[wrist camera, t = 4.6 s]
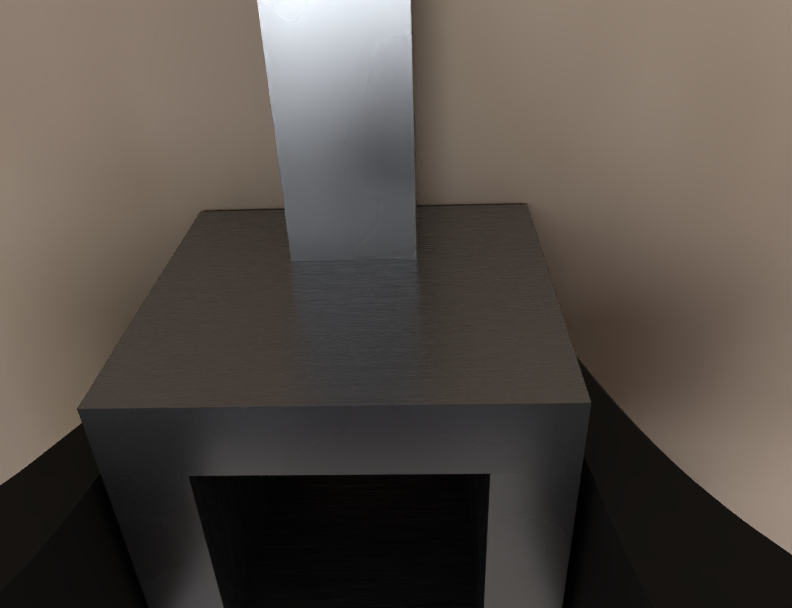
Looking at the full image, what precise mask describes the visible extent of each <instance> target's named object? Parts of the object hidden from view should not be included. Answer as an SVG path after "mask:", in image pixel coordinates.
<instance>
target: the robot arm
mask: <svg viewBox="0 0 792 608" xmlns="http://www.w3.org/2000/svg"><path fill="white" fill-rule="evenodd" d="M576 357H577V356H576ZM577 360H578V363H579V366H580V369H581V373H582V376H583V379H584V382H585V385H586V388H587V391H588V394H589V397H590V400H591V409H590V416H589V423H588V430H587V437H586V444H585V451H584V458H583V465H582V472H581V479H580V486H579V493H578V500H577V507H576V514H575V520H574V527H573V534H572V541H571V548H570V555H569V562H568V569H567V576H566V583H565V590H564V597H563V604H562V608H792V555H791V554H790V553H788V552H787V551H786V550H784V549H783V548H781V547H780V546H778V545H777V544H775V543H774V542H773V541H771V540H770V539H768V538H767V537H765V536H764V535H763V534H761V533H760V532H758V531H757V530H755V529H754V528H753V527H751V526H750V525H749V524H747V523H746V522H745V521H743V520H742V519H741V518H739V517H738V516H737V515H735V514H734V513H733V512H731V511H730V510H729V509H728V508H726V507H725V506H724V505H723V504H721V503H720V502H719V501H718V500H716V499H715V498H714V497H713V496H712V495H710V494H709V493H708V492H707V491H705V490H704V489H703V488H702V487H700V486H699V485H698V484H697V483H696V482H694V481H693V480H692V479H691V478H690V477H689V476H688V475H687V474H685V473H684V472H683V471H682V470H681V469H680V468H679V467H678V466H677V465H676V464H675V463H674V462H673V461H671V460H670V459H669V458H668V457H667V456H666V455H665V454H664V453H663V452H662V451H661V450H660V449H659V448H658V447H657V446H656V445H655V444H654V443H653V442H652V441H651V440H650V439H649V438H648V437H647V436H646V435H645V434H644V433H643V432H642V431H641V430H640V429H639V428H638V427H637V425H636V424H635V423H634V422H633V421H632V420H631V419H630V418H629V417H628V416H627V415H626V414H625V413H624V411H623V410H622V409H621V408H620V407H619V406H618V405H617V404H616V403H615V402H614V400H613V399H612V398H611V397H610V396H609V395H608V393H607V392H606V391H605V390H604V389H603V388H602V386H601V385H600V384H599V383H598V382H597V381H596V379H595V378H594V377H593V376H592V375H591V373H590V372H589V371H588V370H587V368H586V367H585V366H584V365H583V363H582V362H581V361H580V360H579V358H578V357H577ZM0 608H148V605H147V602H146V599H145V596H144V594H143V591H142V588H141V585H140V582H139V580H138V577H137V574H136V571H135V569H134V566H133V563H132V560H131V557H130V555H129V552H128V549H127V546H126V544H125V541H124V538H123V535H122V532H121V530H120V527H119V524H118V521H117V518H116V516H115V513H114V510H113V507H112V505H111V502H110V499H109V496H108V493H107V491H106V488H105V485H104V482H103V479H102V477H101V474H100V471H99V468H98V466H97V463H96V460H95V457H94V454H93V452H92V449H91V446H90V443H89V441H88V438H87V435H86V432H85V429H84V427H83V424H82V423H81V424H80V425H79V426H78V427H76V428H75V429H74V430H73V431H71V432H70V433H69V434H67V435H66V436H65V437H64V438H62V439H61V440H60V441H59V442H57V443H56V444H55V445H53V446H52V447H51V448H50V449H48V450H47V451H46V452H45V453H43V454H42V455H41V456H39V457H38V458H37V459H36V460H34V461H33V462H32V463H31V464H29V465H28V466H27V467H25V468H24V469H23V470H21V471H20V472H19V473H17V474H16V475H14V476H13V477H12V478H10V479H9V480H7V481H6V482H4V483H3V484H2V485H0Z"/></svg>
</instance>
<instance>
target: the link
mask: <svg viewBox="0 0 792 608" xmlns="http://www.w3.org/2000/svg"><path fill="white" fill-rule="evenodd" d="M257 3H258V10H259V18H260V26H261V33H262V41H263V49H264V56H265V64H266V72H267V79H268V87H269V95H270V102H271V110H272V118H273V125H274V133H275V140H276V148H277V156H278V163H279V171H280V179H281V186H282V194H283V202H284V209H285V210H251V211H208V212H200V213H199V215H198V216H197V218H196V219H195V221H194V223H193V224H192V226H191V227H190V229H189V231H188V232H187V234H186V235H185V237H184V239H183V240H182V242H181V243H180V245H179V247H178V248H177V250H176V251H175V253H174V255H173V256H172V258H171V259H170V261H169V263H168V264H167V266H166V267H165V269H164V271H163V272H162V274H161V275H160V277H159V279H158V280H157V282H156V283H155V285H154V287H153V288H152V290H151V291H150V293H149V295H148V296H147V298H146V299H145V301H144V303H143V304H142V306H141V307H140V309H139V311H138V312H137V314H136V315H135V317H134V319H133V320H132V322H131V323H130V325H129V327H128V328H127V330H126V331H125V333H124V335H123V336H122V338H121V339H120V341H119V343H118V344H117V346H116V347H115V349H114V351H113V352H112V354H111V355H110V357H109V359H108V360H107V362H106V363H105V365H104V367H103V368H102V370H101V371H100V373H99V375H98V376H97V378H96V379H95V381H94V383H93V384H92V386H91V387H90V389H89V391H88V392H87V394H86V395H85V397H84V399H83V400H82V402H81V403H80V405H79V407H78V408H77V410H78V413H79V415H80V418H81V421H82V424H83V427H84V429H85V432H86V435H87V438H88V441H89V443H90V446H91V449H92V452H93V454H94V457H95V460H96V463H97V466H98V468H99V471H100V474H101V477H102V479H103V482H104V485H105V488H106V491H107V493H108V496H109V499H110V502H111V505H112V507H113V510H114V513H115V516H116V518H117V521H118V524H119V527H120V530H121V532H122V535H123V538H124V541H125V544H126V546H127V549H128V552H129V555H130V557H131V560H132V563H133V566H134V569H135V571H136V574H137V577H138V580H139V582H140V585H141V588H142V591H143V594H144V596H145V599H146V602H147V605H148V608H562V604H563V597H564V590H565V583H566V576H567V569H568V562H569V555H570V548H571V541H572V534H573V527H574V520H575V514H576V507H577V500H578V493H579V486H580V479H581V472H582V465H583V458H584V451H585V444H586V437H587V430H588V423H589V416H590V409H591V400H590V397H589V394H588V391H587V388H586V385H585V382H584V379H583V376H582V373H581V369H580V366H579V363H578V360H577V357H576V354H575V351H574V348H573V345H572V342H571V339H570V336H569V332H568V329H567V326H566V323H565V320H564V317H563V314H562V311H561V308H560V305H559V302H558V299H557V295H556V292H555V289H554V286H553V283H552V280H551V277H550V274H549V271H548V268H547V265H546V262H545V258H544V255H543V252H542V249H541V246H540V243H539V240H538V237H537V234H536V231H535V228H534V225H533V221H532V218H531V215H530V212H529V209H528V206H527V204H512V205H469V206H425V207H417V200H416V156H415V111H414V67H413V22H412V0H257Z"/></svg>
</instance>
